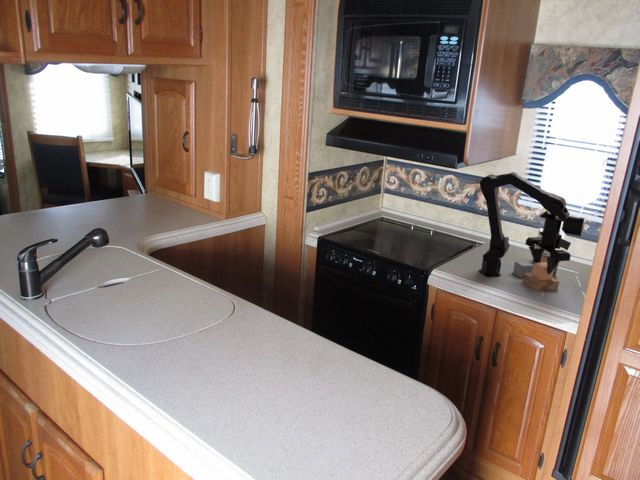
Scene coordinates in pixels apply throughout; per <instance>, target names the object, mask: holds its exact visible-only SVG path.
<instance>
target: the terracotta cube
mask: <svg viewBox="0 0 640 480" xmlns="http://www.w3.org/2000/svg"><path fill="white" fill-rule="evenodd" d="M533 265H534V266H533V271H532V273H533V274H532V275H533V276H534V277H536V278H538V279H539V280H552V277H553V272H554V270H553V271H552V273H551V274H548V272H547V263H546V262H544V263H534V264H533Z"/></svg>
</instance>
